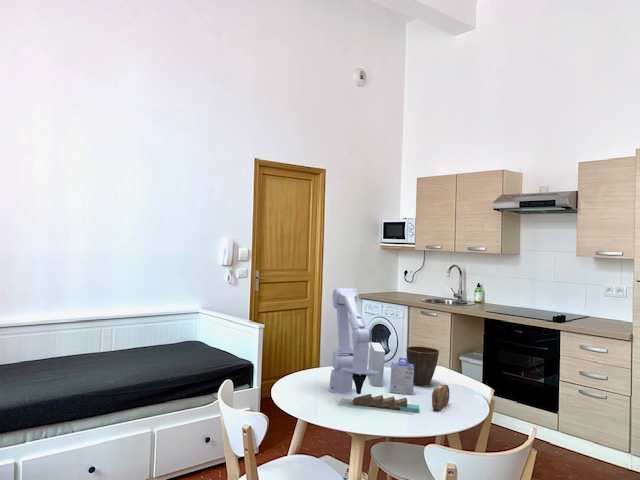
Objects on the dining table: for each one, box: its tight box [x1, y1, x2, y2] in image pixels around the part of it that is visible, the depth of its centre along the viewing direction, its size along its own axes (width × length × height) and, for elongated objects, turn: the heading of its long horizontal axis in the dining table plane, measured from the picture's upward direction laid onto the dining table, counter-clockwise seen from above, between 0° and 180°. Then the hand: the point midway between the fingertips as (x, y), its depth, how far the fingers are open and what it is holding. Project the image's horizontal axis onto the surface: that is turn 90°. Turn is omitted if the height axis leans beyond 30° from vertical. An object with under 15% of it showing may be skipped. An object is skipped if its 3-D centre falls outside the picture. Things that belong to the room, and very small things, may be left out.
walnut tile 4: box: [388, 397, 408, 409], centre depth 190 cm, size 2×4×7 cm
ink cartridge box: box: [389, 357, 415, 396], centre depth 214 cm, size 10×6×14 cm, turn 78°
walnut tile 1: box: [352, 393, 373, 405], centre depth 193 cm, size 2×4×7 cm
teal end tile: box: [400, 403, 420, 414], centre depth 189 cm, size 2×4×7 cm
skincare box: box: [367, 341, 386, 387], centre depth 231 cm, size 21×5×16 cm, turn 179°
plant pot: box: [406, 345, 440, 387], centre depth 228 cm, size 15×15×16 cm
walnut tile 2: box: [364, 394, 385, 407], centre depth 192 cm, size 2×4×7 cm
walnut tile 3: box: [376, 395, 396, 408], centre depth 191 cm, size 2×4×7 cm
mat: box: [336, 397, 414, 416], centre depth 192 cm, size 29×10×1 cm, turn 77°
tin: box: [431, 384, 450, 412], centre depth 195 cm, size 15×3×8 cm, turn 148°
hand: (358, 393), depth 193 cm, fingers closed
